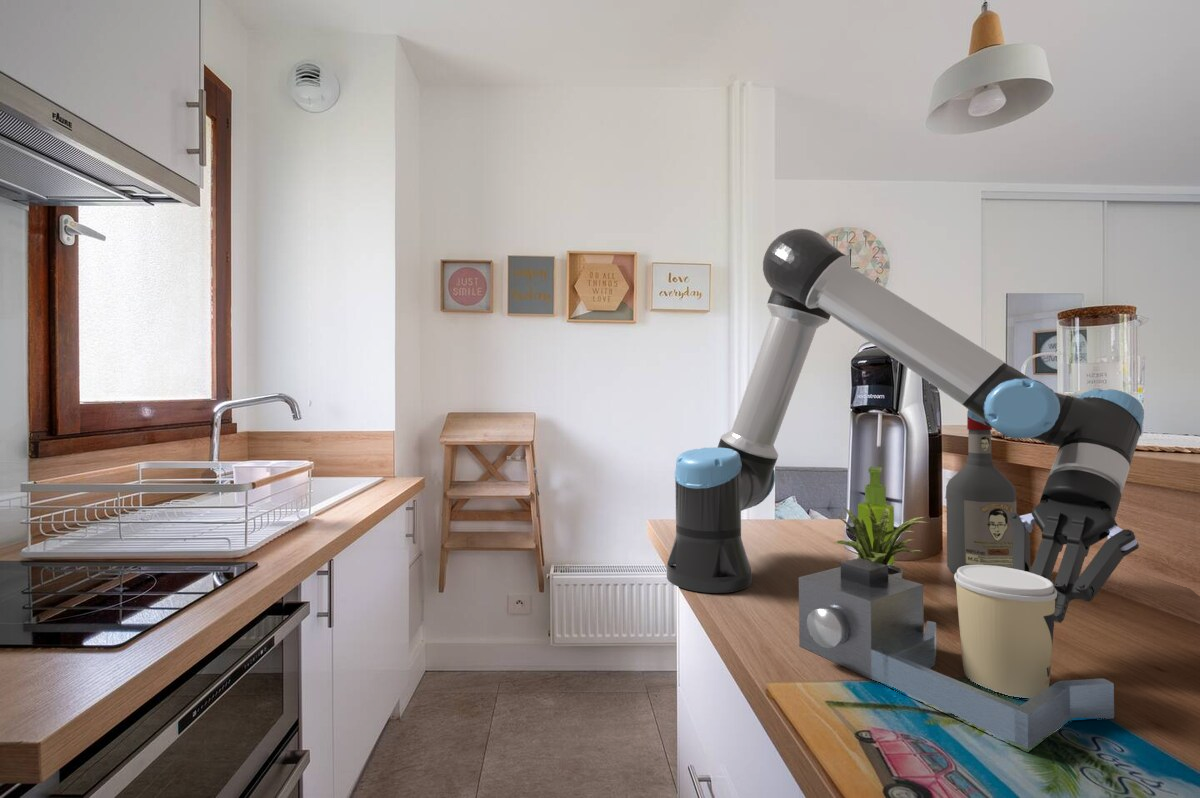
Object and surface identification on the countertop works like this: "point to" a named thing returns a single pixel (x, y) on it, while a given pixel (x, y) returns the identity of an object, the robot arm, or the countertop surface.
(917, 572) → the countertop surface
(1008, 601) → the coffee cup
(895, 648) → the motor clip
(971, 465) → the liquor
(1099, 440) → the robot arm
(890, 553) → the house plant
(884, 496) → the soap dispenser
